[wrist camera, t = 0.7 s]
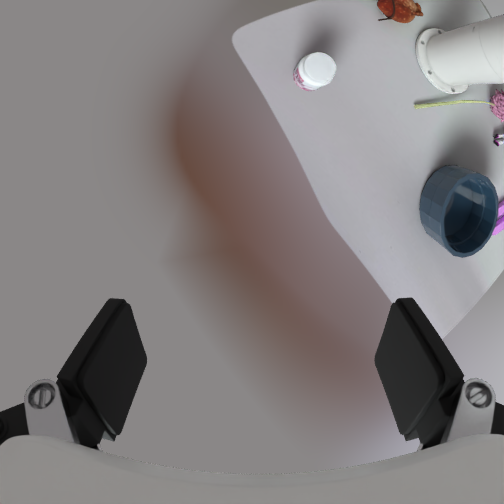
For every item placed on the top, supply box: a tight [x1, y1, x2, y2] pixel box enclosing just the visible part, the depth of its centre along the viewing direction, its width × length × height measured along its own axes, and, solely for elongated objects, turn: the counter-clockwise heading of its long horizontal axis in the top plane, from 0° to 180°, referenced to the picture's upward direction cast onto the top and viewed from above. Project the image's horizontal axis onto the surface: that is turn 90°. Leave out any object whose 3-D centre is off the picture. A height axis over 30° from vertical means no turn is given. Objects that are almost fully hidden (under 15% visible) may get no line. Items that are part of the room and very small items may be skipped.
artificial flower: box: [414, 89, 504, 122], centre depth 32 cm, size 7×7×25 cm
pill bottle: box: [293, 52, 336, 91], centre depth 31 cm, size 5×5×8 cm
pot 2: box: [377, 0, 423, 23], centre depth 26 cm, size 6×8×6 cm
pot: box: [419, 165, 499, 258], centre depth 39 cm, size 15×15×8 cm
